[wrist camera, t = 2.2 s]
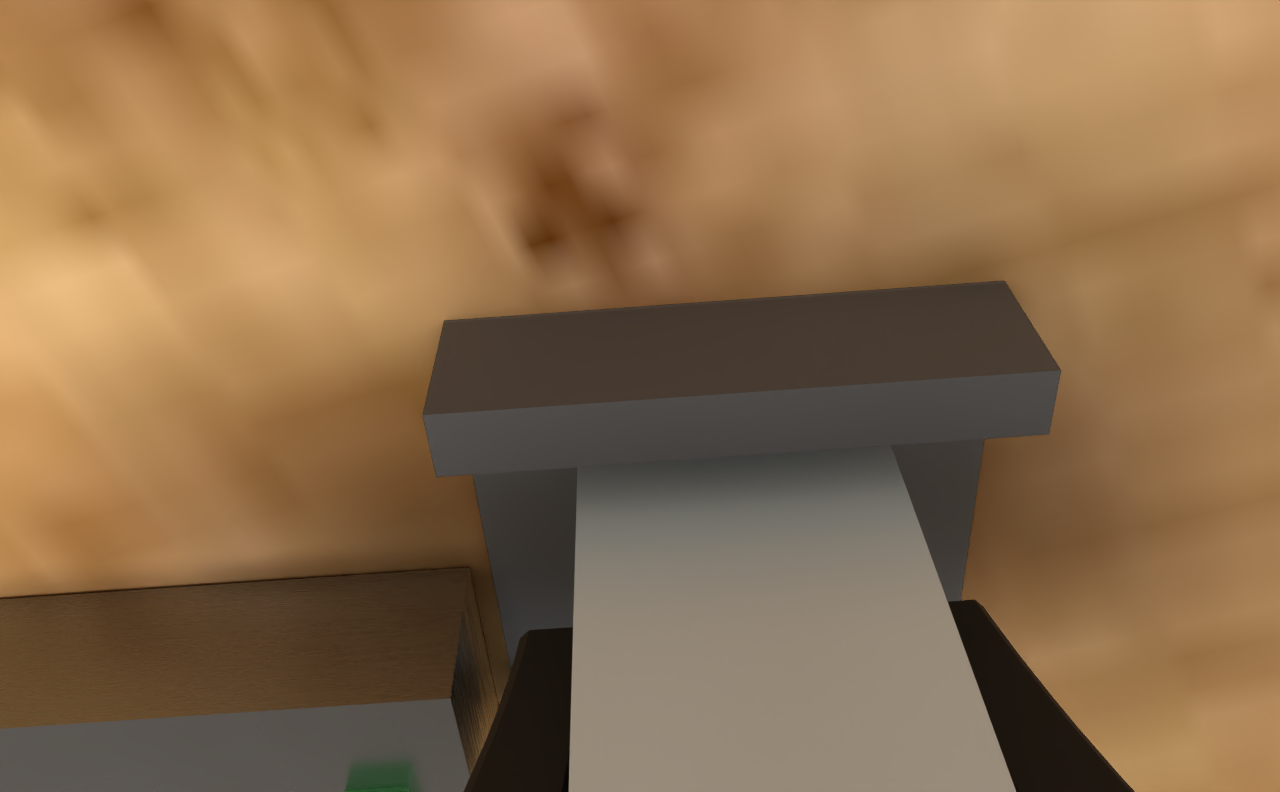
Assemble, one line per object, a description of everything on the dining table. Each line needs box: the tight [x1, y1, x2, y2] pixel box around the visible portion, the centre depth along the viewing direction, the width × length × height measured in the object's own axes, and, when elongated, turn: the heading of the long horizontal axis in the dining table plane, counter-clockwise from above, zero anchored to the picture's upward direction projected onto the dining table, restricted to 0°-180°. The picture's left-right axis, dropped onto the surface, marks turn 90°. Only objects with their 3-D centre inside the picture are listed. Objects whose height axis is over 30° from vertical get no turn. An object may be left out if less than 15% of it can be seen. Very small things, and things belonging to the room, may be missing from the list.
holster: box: [423, 281, 1061, 669], centre depth 14 cm, size 6×7×2 cm
